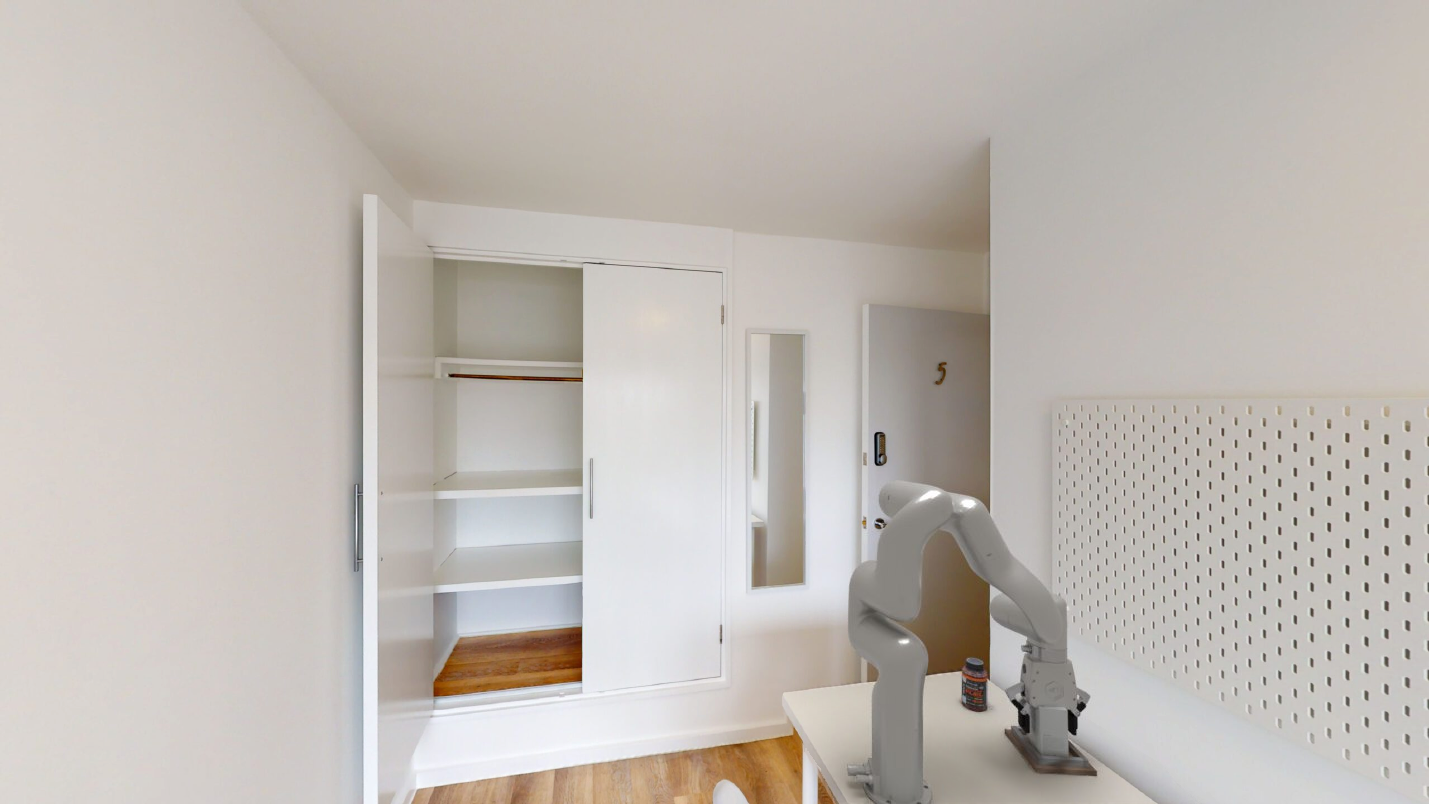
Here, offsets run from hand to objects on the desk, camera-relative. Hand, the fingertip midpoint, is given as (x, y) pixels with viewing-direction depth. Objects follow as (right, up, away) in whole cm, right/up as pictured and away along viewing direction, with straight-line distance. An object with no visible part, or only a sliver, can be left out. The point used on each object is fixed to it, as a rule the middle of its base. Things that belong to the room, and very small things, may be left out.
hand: (1047, 731), depth 119 cm
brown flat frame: (0, -5, 0) cm, 5 cm away
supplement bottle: (-7, -6, +19) cm, 21 cm away
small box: (0, -4, 0) cm, 4 cm away
